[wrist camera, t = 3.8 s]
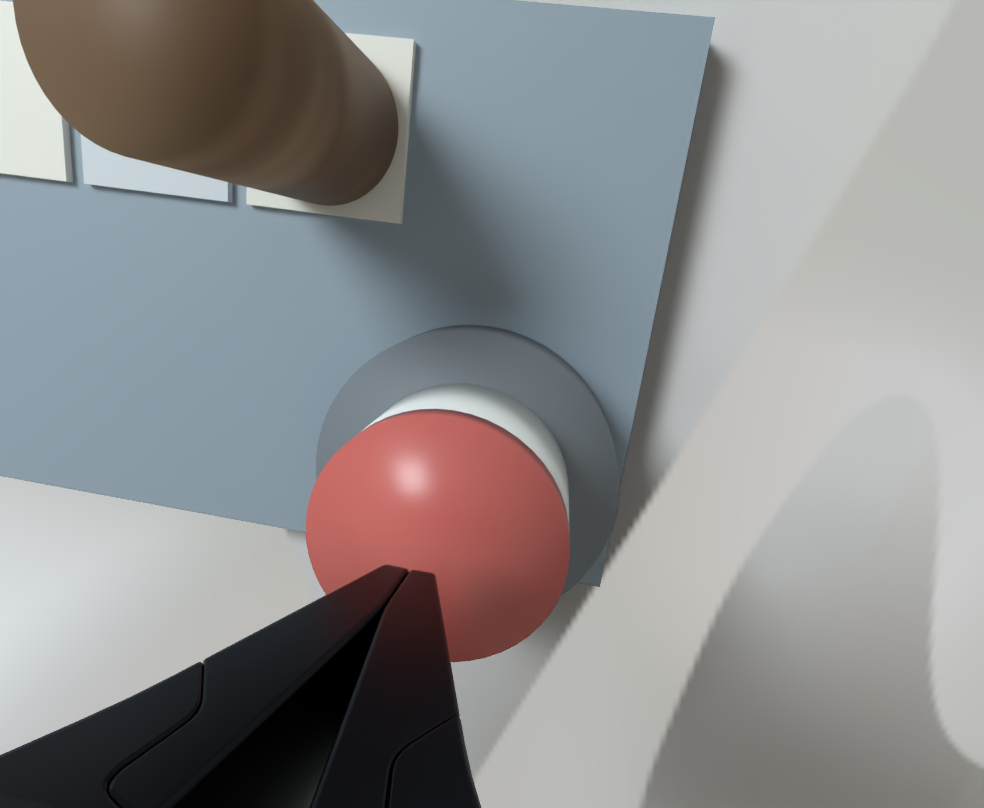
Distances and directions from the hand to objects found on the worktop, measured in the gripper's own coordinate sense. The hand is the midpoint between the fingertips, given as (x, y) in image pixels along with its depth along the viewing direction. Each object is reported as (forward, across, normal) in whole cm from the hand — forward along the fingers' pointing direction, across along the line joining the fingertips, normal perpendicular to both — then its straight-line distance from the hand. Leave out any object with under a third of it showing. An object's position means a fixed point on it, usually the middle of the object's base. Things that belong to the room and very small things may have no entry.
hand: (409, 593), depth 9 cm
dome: (+5, 0, 0) cm, 5 cm away
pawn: (+6, +4, -8) cm, 11 cm away
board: (+7, +8, -4) cm, 11 cm away
